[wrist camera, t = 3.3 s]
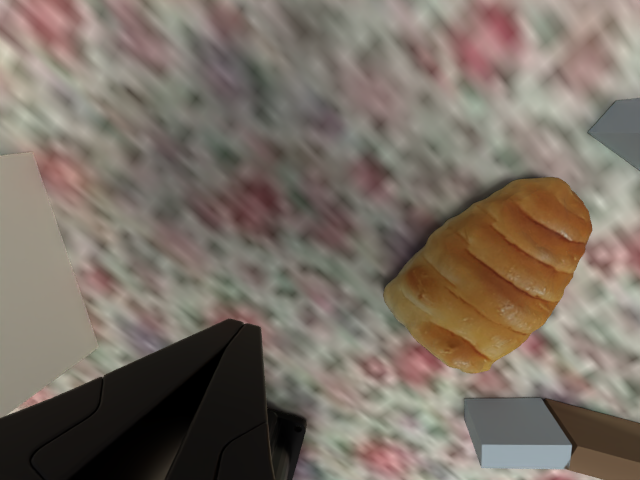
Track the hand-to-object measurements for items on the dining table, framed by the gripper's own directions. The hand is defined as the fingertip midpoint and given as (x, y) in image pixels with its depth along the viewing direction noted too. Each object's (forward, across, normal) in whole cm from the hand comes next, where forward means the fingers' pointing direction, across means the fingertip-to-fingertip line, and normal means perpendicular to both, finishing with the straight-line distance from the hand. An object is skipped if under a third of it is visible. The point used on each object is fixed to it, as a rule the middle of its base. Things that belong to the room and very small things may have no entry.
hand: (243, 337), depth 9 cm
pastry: (+10, -9, 0) cm, 13 cm away
